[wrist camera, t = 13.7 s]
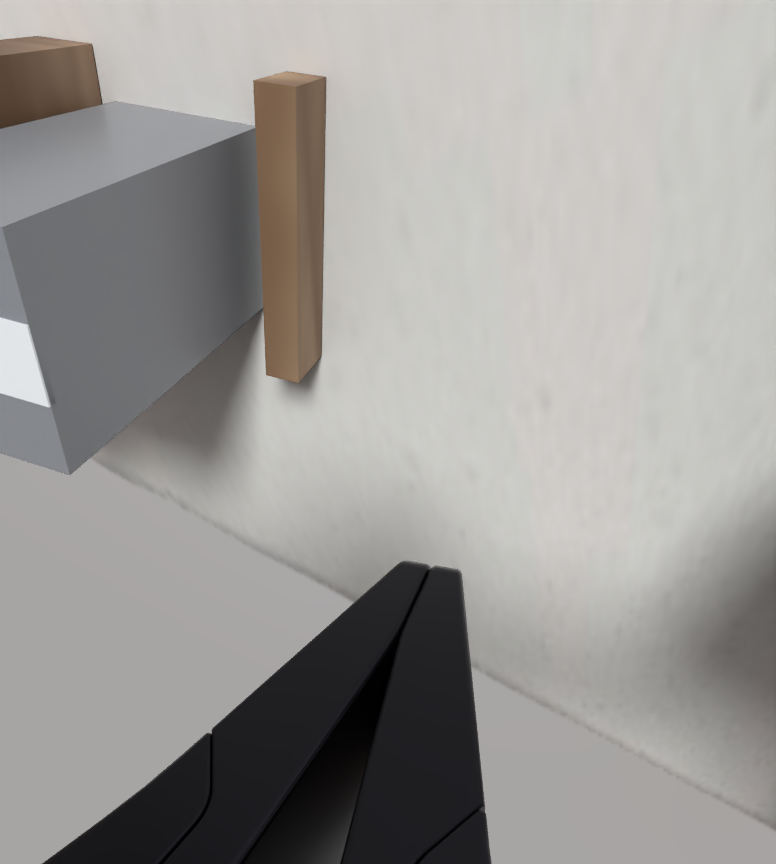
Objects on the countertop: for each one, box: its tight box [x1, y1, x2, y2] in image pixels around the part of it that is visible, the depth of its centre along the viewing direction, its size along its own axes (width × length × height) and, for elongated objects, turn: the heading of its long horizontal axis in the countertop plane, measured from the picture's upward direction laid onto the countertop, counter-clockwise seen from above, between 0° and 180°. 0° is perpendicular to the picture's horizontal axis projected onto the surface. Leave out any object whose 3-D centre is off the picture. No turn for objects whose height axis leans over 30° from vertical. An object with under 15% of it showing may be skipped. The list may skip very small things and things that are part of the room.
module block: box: [0, 101, 263, 475], centre depth 18 cm, size 5×6×10 cm
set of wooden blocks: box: [0, 36, 326, 383], centre depth 18 cm, size 10×9×10 cm
